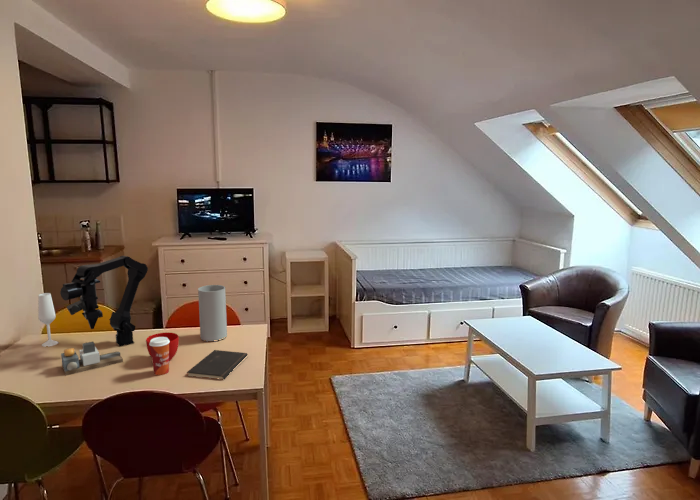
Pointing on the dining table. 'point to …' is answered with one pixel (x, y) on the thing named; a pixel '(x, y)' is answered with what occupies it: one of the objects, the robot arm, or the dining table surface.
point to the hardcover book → (217, 364)
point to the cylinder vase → (212, 312)
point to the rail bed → (75, 365)
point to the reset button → (69, 352)
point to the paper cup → (160, 355)
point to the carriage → (89, 354)
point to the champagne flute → (46, 314)
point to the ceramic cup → (172, 345)
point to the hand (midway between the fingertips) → (92, 328)
